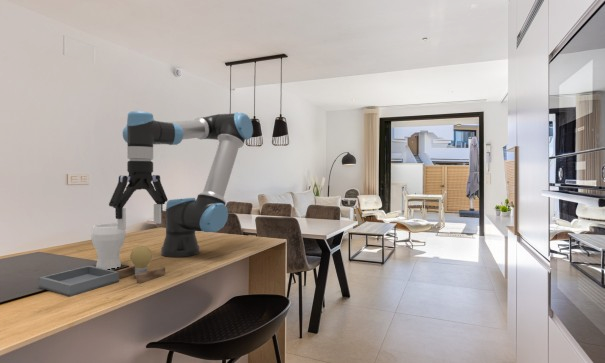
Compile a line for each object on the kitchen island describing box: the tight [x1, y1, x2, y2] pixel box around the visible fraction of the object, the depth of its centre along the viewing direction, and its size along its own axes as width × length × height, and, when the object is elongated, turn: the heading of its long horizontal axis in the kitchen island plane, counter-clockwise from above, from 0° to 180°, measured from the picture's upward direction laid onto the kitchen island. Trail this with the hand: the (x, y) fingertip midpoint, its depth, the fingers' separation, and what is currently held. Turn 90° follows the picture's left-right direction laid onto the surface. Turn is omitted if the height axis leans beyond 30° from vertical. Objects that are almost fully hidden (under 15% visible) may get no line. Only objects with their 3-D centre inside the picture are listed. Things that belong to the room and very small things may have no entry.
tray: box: [38, 265, 120, 297], centre depth 103 cm, size 15×15×3 cm
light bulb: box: [129, 245, 153, 277], centre depth 111 cm, size 6×6×10 cm
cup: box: [90, 222, 127, 270], centre depth 121 cm, size 11×11×15 cm
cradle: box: [116, 265, 166, 284], centre depth 111 cm, size 10×10×2 cm
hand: (140, 226), depth 110 cm, fingers open, 13 cm apart
